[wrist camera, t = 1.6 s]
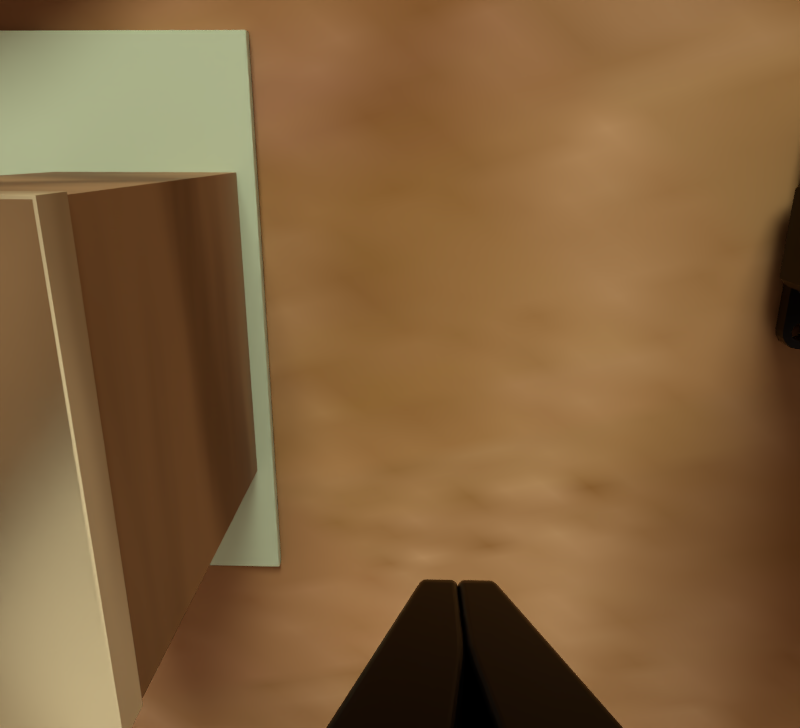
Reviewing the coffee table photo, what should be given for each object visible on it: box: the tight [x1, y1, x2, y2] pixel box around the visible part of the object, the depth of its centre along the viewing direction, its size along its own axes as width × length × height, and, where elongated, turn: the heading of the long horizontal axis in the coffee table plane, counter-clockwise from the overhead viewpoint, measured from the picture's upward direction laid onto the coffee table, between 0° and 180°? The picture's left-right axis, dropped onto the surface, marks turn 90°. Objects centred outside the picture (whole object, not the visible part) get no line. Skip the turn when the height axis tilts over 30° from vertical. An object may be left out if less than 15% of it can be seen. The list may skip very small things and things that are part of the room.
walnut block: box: [0, 172, 257, 728], centre depth 15 cm, size 5×9×10 cm, turn 0°
